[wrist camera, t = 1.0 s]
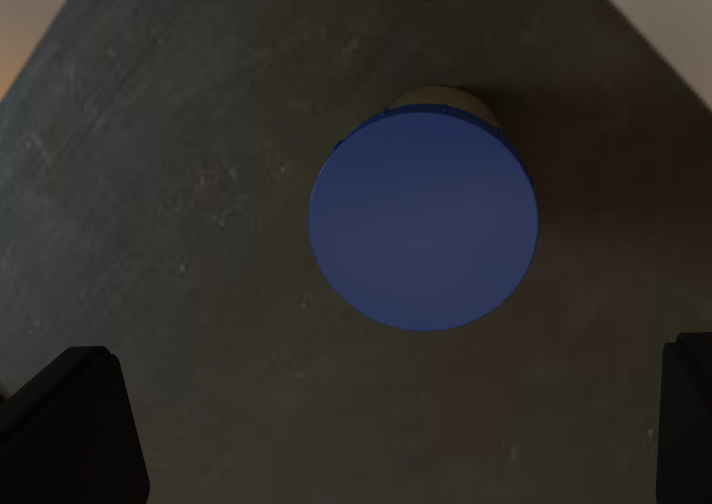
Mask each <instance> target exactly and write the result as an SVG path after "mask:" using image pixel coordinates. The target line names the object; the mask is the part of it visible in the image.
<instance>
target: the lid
mask: <svg viewBox="0 0 712 504" xmlns="http://www.w3.org/2000/svg"><path fill="white" fill-rule="evenodd" d="M447 104H448V103H445V102H444V105H442V104H433V103H419V104H410V105H404V106H399V107H396V108H392V109H389V108H388V107H387V108H385V109H384V110H383V112H382V113H380V114H377V115H375V116H373V117H372V118H370V119H368V120H367V121H365V122H364V123H362V124H361V125H360V126H358V127H357V128H356V129H355V130H354V131H352V132H351V133H350V134H349V135H348V137H347V138H346V139H345V140H344V141H342V140H340V141H339V142H338V143H337V145H336V146H335V147H334V148H333V149H332V151H333V153H332V154H331V155H330V157H329V158H328V160H327V161H326V162H325V164H324V165H323V167H322V169H321V171H320V173H319V175H318V177H317V179H316V182H315V185H314V187H313V190H312V194H311V199H310V204H309V215H308V225H309V236H310V241H311V246H312V249H313V252H314V255H315V258H316V261H317V263H318V265H319V267H320V269H321V271H322V273H323V274H324V276H325V277H326V279H327V280H328V282H329V283H330V285H331V286H332V287H333V288H334V290H335V291H336V292H337V293H338V294H339V295H340V296H341V297H342V298H343V299H344V300H345V301H346V302H347V303H348V304H349V305H351V306H352V307H354V308H355V309H356V310H358V311H359V312H361V313H362V314H364V315H366V316H368V317H369V318H371V319H373V320H375V321H378V322H380V323H383V324H385V325H388V326H392V327H396V328H399V329H405V330H412V331H439V330H446V329H451V328H456V327H459V326H462V325H465V324H468V323H471V322H473V321H475V320H477V319H479V318H481V317H483V316H485V315H486V314H488V313H489V312H491V311H493V310H494V309H496V308H497V307H498V306H499V305H500V304H502V303H503V302H504V301H505V300H506V299H507V298H508V297H509V296H510V295H511V294H512V293H513V292H514V291H515V289H516V288H517V287H518V285H519V284H520V282H521V281H522V280H523V278H524V276H525V275H526V273H527V271H528V269H529V267H530V265H531V262H532V259H533V256H534V253H535V251H536V246H537V240H538V233H539V215H538V205H537V201H536V197H535V193H534V189H536V187H535V184H534V181H533V178H532V176H529V175H528V173H527V170H526V168H525V165H524V163H523V161H522V160H521V158H520V156H519V154H518V152H517V151H516V150H515V148H514V147H513V146H512V144H511V143H510V142H509V140H508V139H507V138H506V137H505V136H504V135H503V134H502V131H501V129H500V128H498V129H496V128H495V127H494V126H492V125H491V124H490V123H488V122H487V121H485V120H483V119H482V118H480V117H478V116H476V115H475V114H472V113H470V112H467V111H465V110H462V109H460V108H456V107H452V106H448V105H447Z"/></svg>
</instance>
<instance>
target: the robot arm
mask: <svg viewBox="0 0 712 504" xmlns="http://www.w3.org/2000/svg"><path fill="white" fill-rule="evenodd" d="M149 491H150V483H149V478H148V474H147V470H146V466H145V462H144V458H143V454H142V450H141V446H140V442H139V438H138V434H137V430H136V426H135V422H134V418H133V414H132V410H131V406H130V402H129V398H128V394H127V390H126V386H125V382H124V378H123V374H122V370H121V366H120V362H119V360H118V358H117V357H116V355H114V354H110V352H109V351H108V349H107V348H105V347H104V346H82V347H70V348H68V349H66V350H65V351H64V352H63V353H61V354H60V355H59V356H58V357H57V358H56V359H54V360H53V361H52V362H51V363H50V364H49V365H47V366H46V367H45V368H44V369H43V370H42V371H40V372H39V373H38V374H37V375H36V376H35V377H33V378H32V379H31V380H30V381H29V382H28V383H26V384H25V385H24V386H23V387H22V388H21V389H19V390H18V391H17V392H16V393H15V394H14V395H12V396H11V397H10V398H9V399H8V400H7V401H5V402H4V403H3V404H2V405H1V406H0V504H146V502H147V500H148V497H149ZM656 501H657V504H712V332H699V333H679V335H678V336H677V340H676V343H665V345H664V348H663V360H662V380H661V399H660V419H659V438H658V458H657V477H656Z"/></svg>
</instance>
